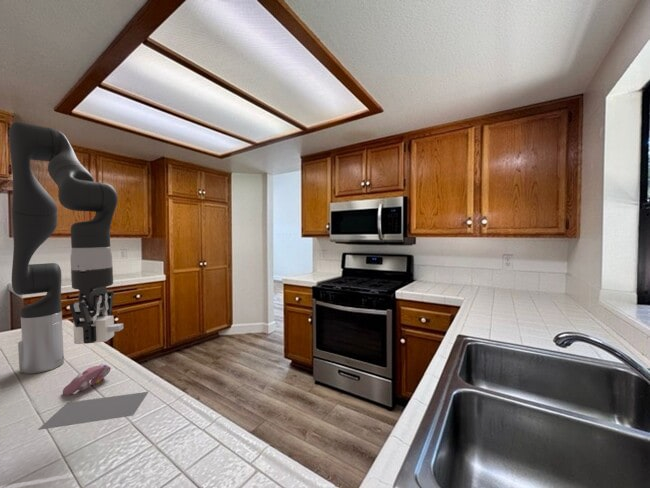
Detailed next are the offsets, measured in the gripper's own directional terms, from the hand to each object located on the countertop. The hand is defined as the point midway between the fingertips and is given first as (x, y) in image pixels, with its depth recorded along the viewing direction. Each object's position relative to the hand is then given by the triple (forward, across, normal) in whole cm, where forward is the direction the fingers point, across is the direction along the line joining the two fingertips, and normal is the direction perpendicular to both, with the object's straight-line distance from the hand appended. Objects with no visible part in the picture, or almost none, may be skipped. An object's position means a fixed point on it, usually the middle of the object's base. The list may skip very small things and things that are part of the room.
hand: (95, 338), depth 66 cm
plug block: (0, 0, 0) cm, 0 cm away
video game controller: (+18, -13, -9) cm, 24 cm away
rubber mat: (+18, -1, 0) cm, 18 cm away
